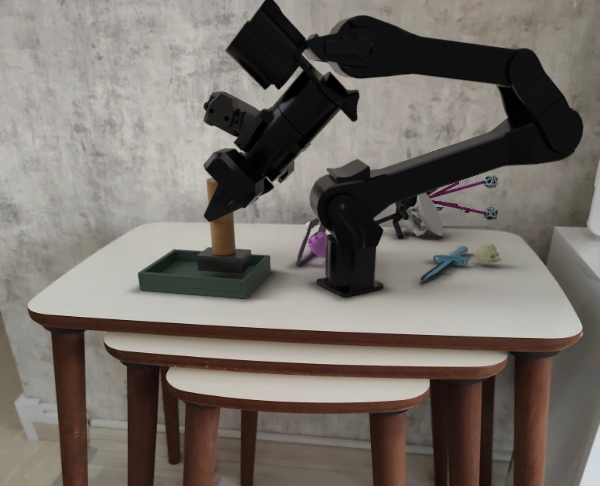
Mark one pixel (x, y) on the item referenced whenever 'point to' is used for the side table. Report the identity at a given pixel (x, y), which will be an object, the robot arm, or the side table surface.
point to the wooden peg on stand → (223, 244)
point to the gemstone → (487, 254)
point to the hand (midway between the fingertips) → (211, 216)
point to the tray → (201, 276)
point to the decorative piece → (403, 205)
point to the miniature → (424, 217)
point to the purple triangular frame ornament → (313, 242)
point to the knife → (446, 262)
